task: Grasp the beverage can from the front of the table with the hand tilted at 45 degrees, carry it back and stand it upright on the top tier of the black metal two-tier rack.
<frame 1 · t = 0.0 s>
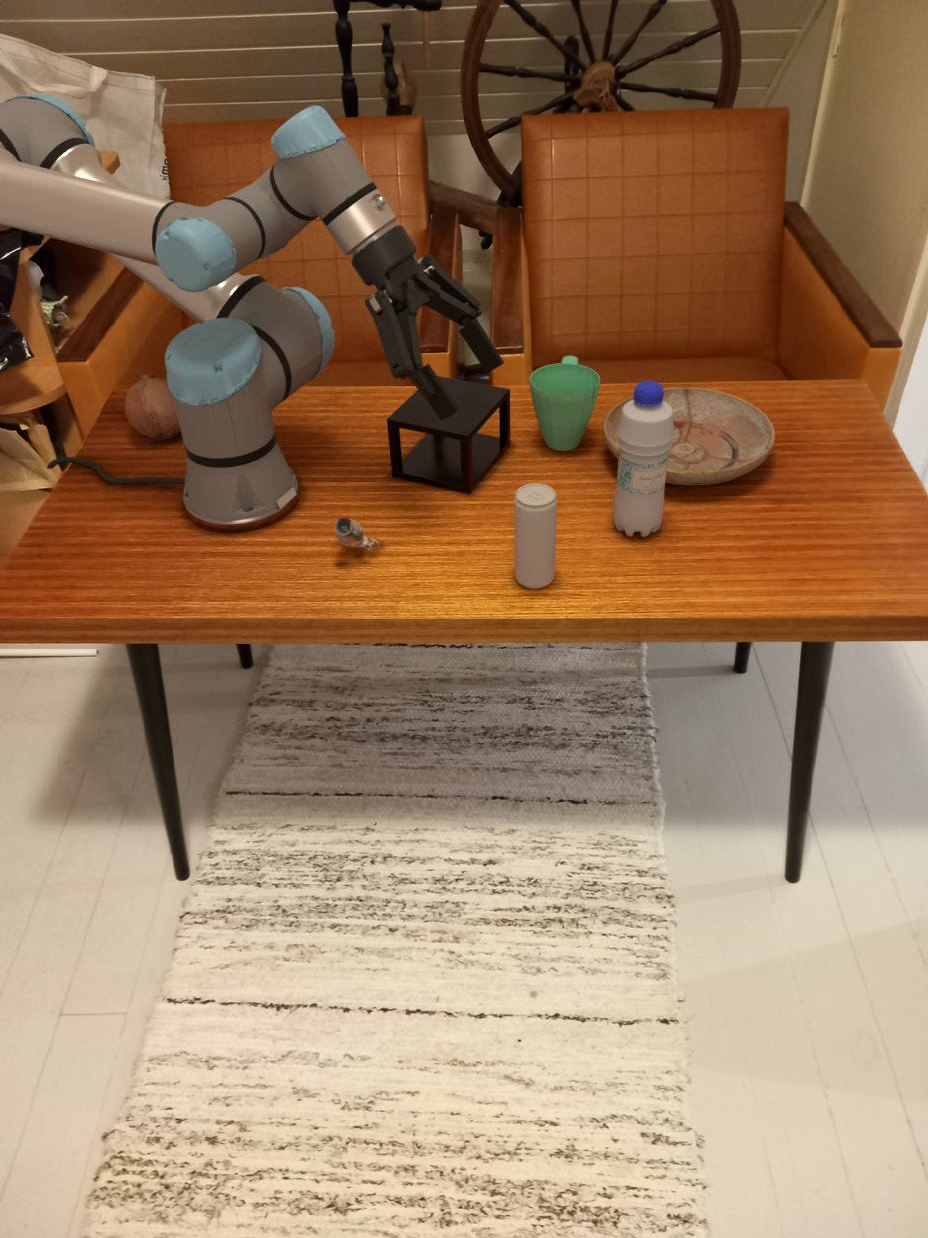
hand: (473, 390, 123), 15 cm above the table, tool tilted 35°, fingers open, 13 cm apart
mug: (564, 435, 145), on the table
vase: (352, 555, 124), on the table
onion: (164, 434, 149), on the table
bottle: (636, 528, 126), on the table
beverage can: (534, 580, 119), on the table
rack: (452, 460, 140), on the table
ceramic bowl: (684, 458, 139), on the table
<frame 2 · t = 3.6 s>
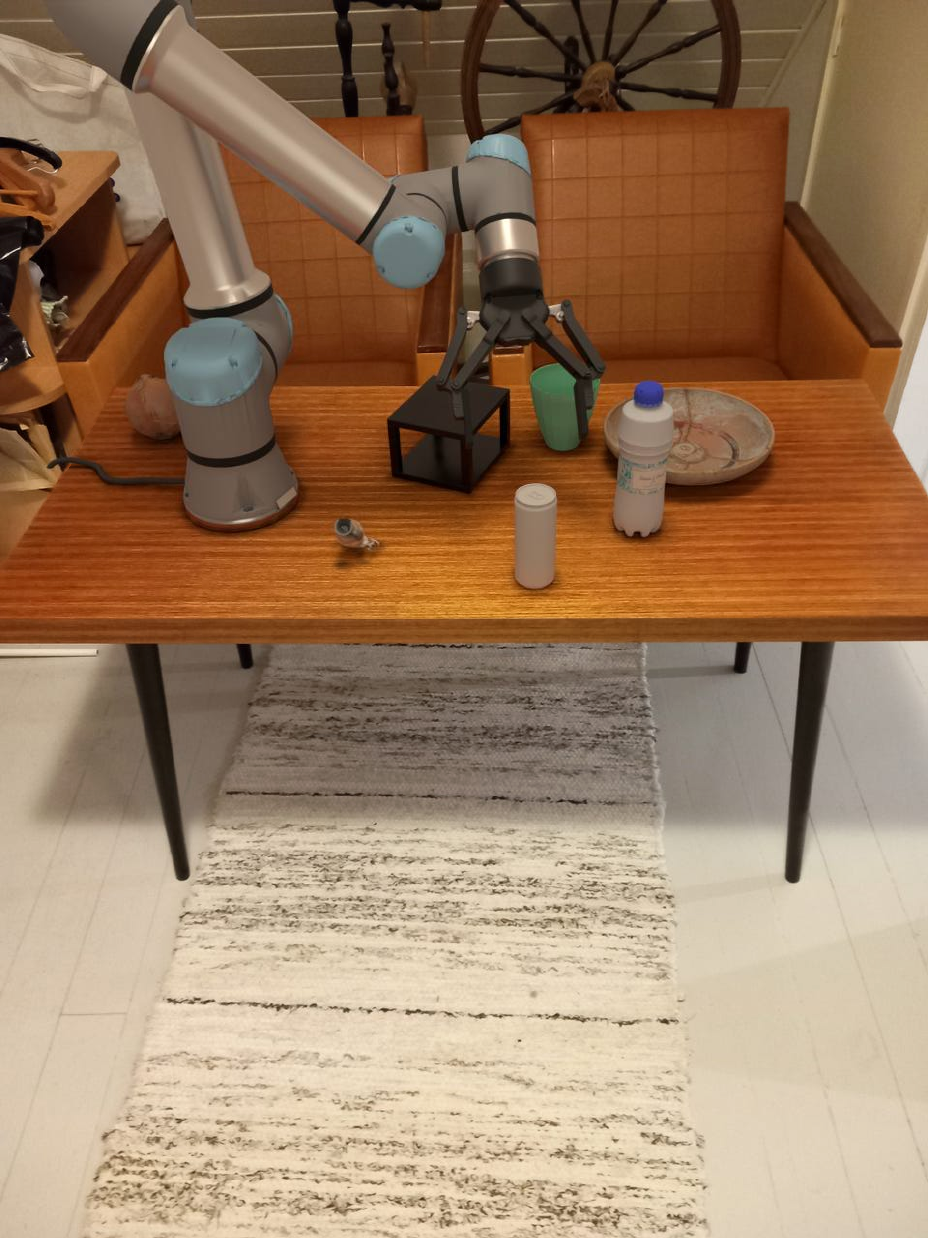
hand: (527, 441, 116), 14 cm above the table, tool tilted 45°, fingers open, 13 cm apart
nothing on the table moved.
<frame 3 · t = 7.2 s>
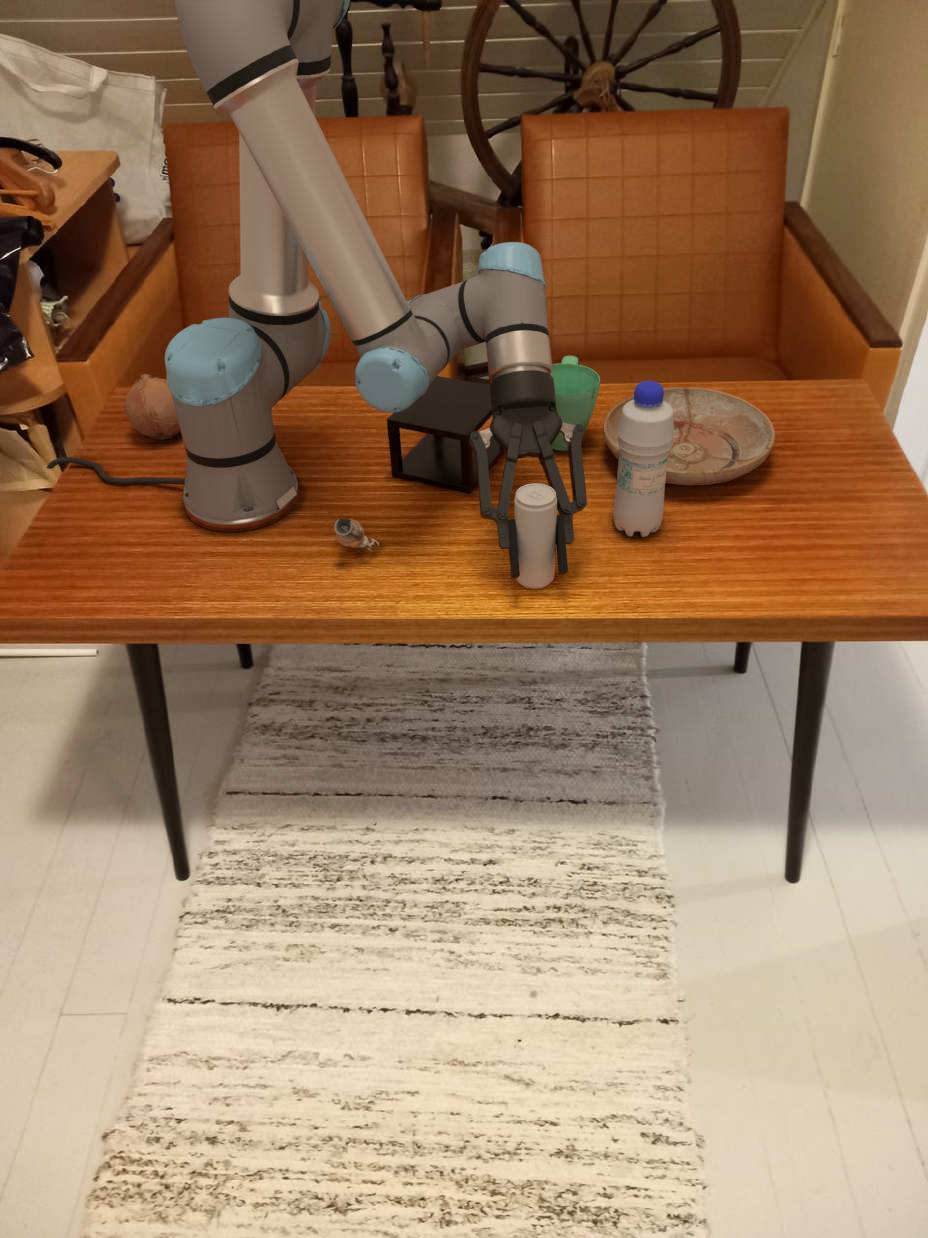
hand: (539, 574, 113), 3 cm above the table, tool tilted 45°, fingers closed on beverage can, 5 cm apart
beverage can: (534, 580, 119), on the table, touching gripper
everything else where it was.
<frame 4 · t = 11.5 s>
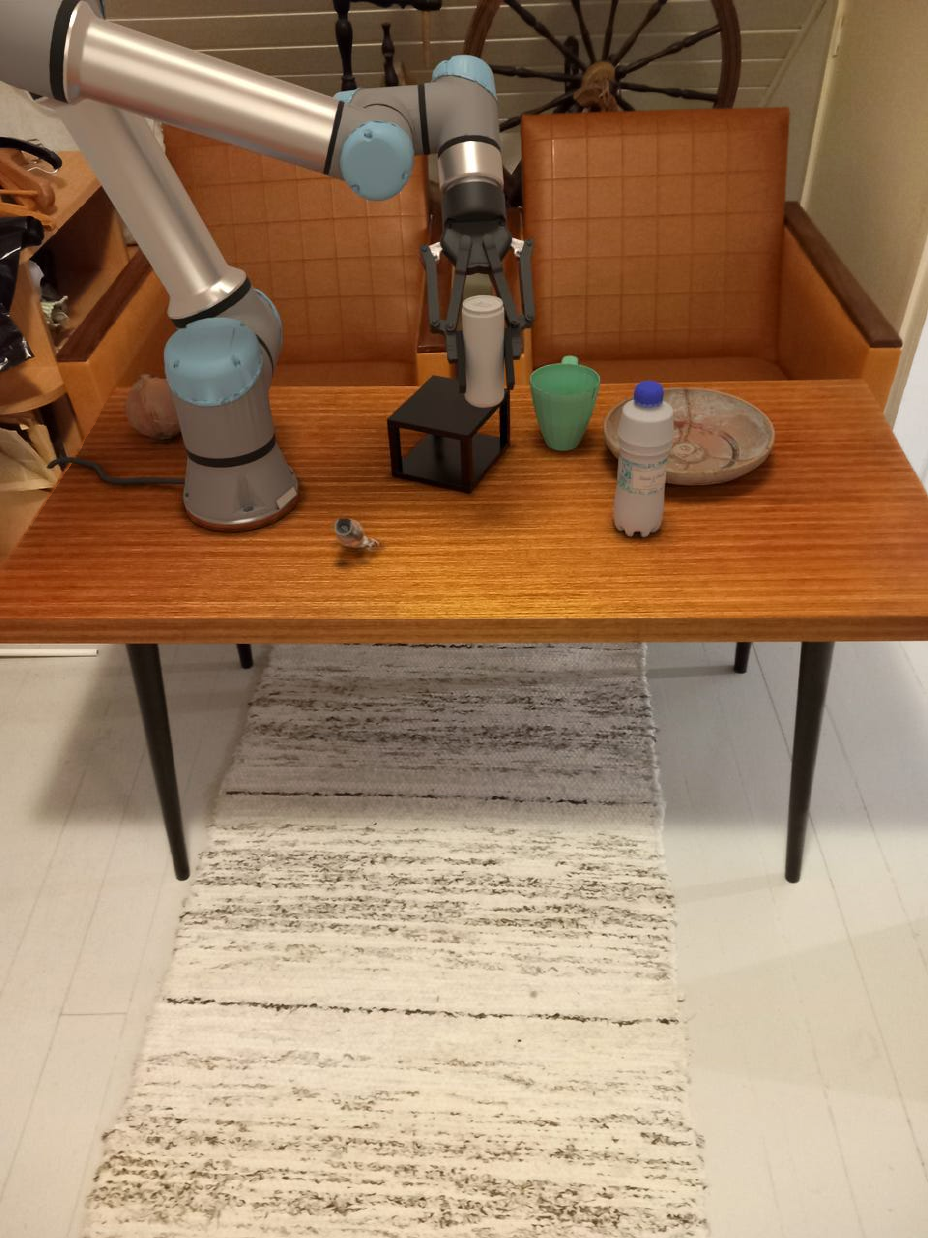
hand: (486, 387, 114), 20 cm above the table, tool tilted 45°, fingers closed on beverage can, 5 cm apart
beverage can: (484, 401, 119), point 16 cm above the table, touching gripper
everything else where it was.
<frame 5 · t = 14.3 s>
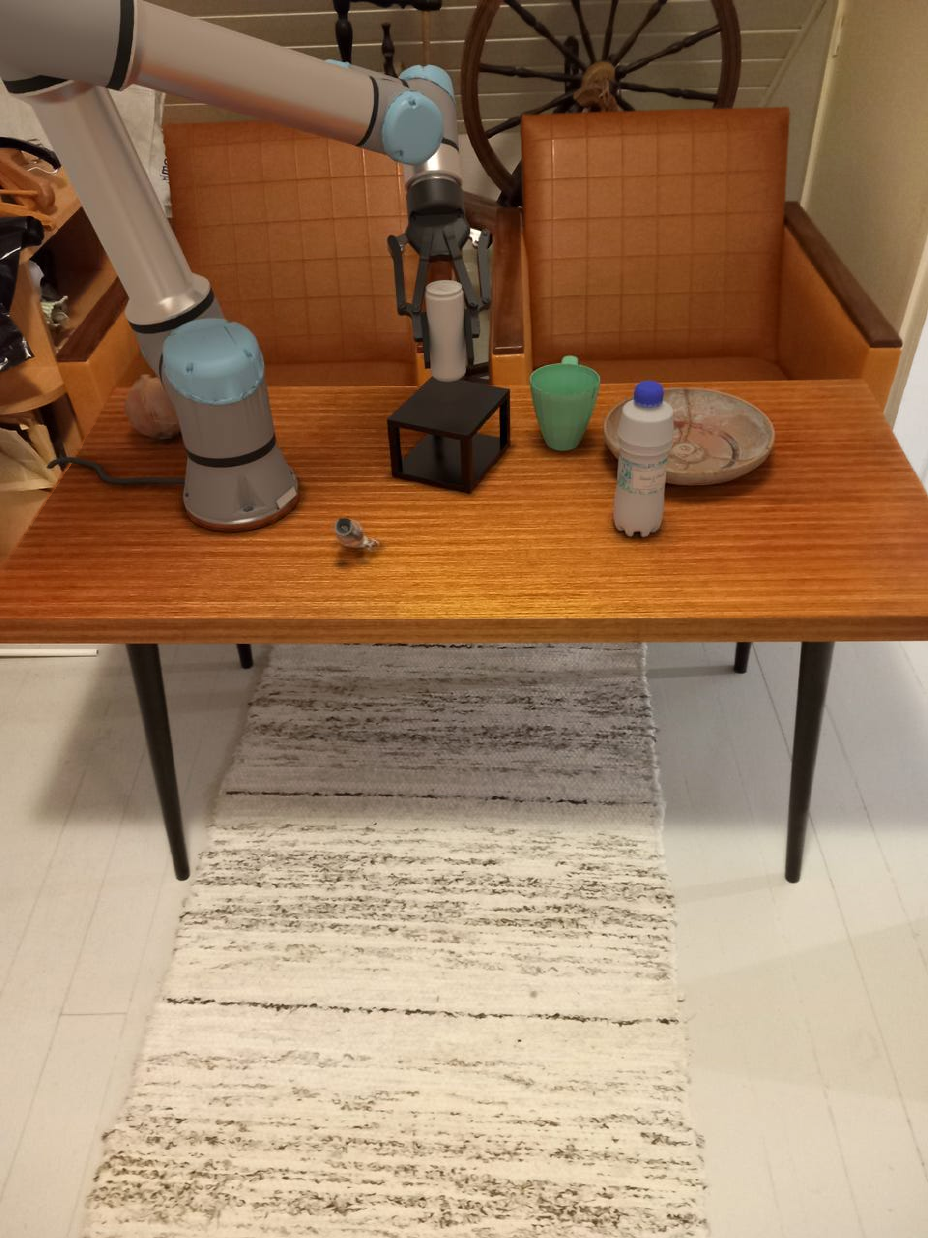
hand: (449, 363, 127), 17 cm above the table, tool tilted 45°, fingers closed on beverage can, 5 cm apart
beverage can: (448, 376, 132), point 13 cm above the table, touching gripper
everything else where it was.
when the fingers open (12 cm above the table, at t = 15.8 s): beverage can stays where it is, resting on rack.
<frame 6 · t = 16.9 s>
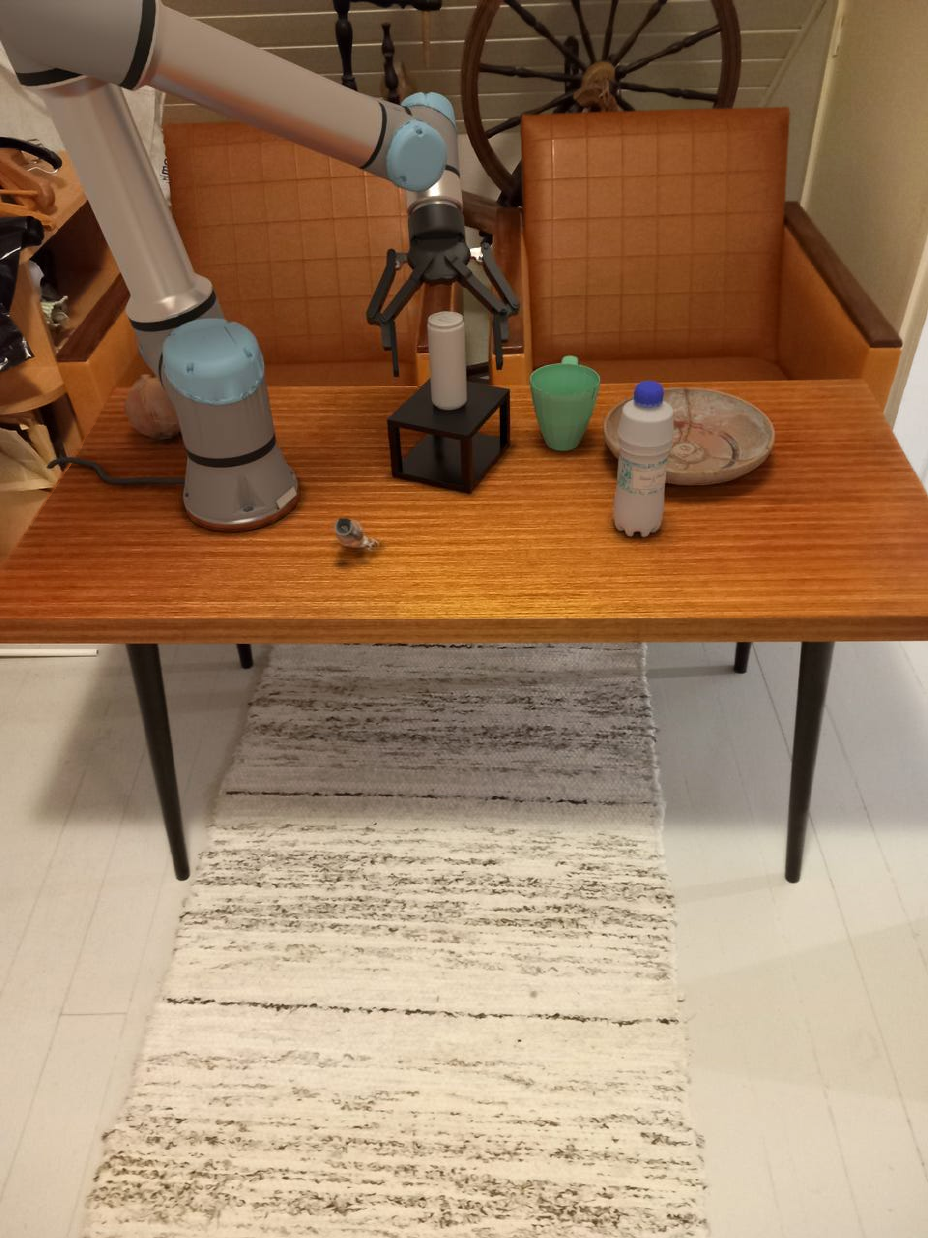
hand: (448, 370, 129), 15 cm above the table, tool tilted 45°, fingers open, 13 cm apart
beverage can: (449, 404, 135), point 9 cm above the table, touching rack
everything else where it was.
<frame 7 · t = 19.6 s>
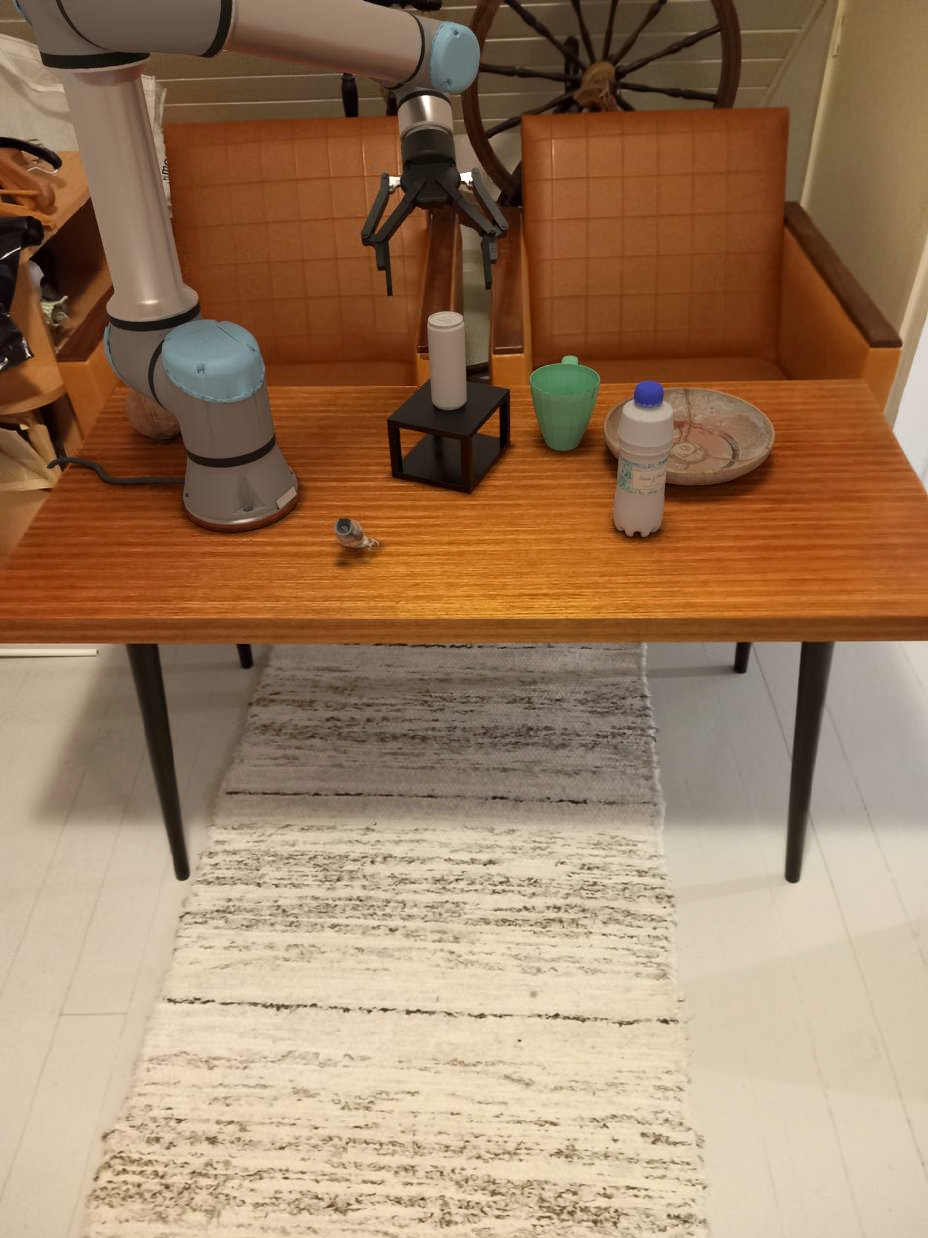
hand: (439, 288, 135), 21 cm above the table, tool tilted 45°, fingers open, 13 cm apart
nothing on the table moved.
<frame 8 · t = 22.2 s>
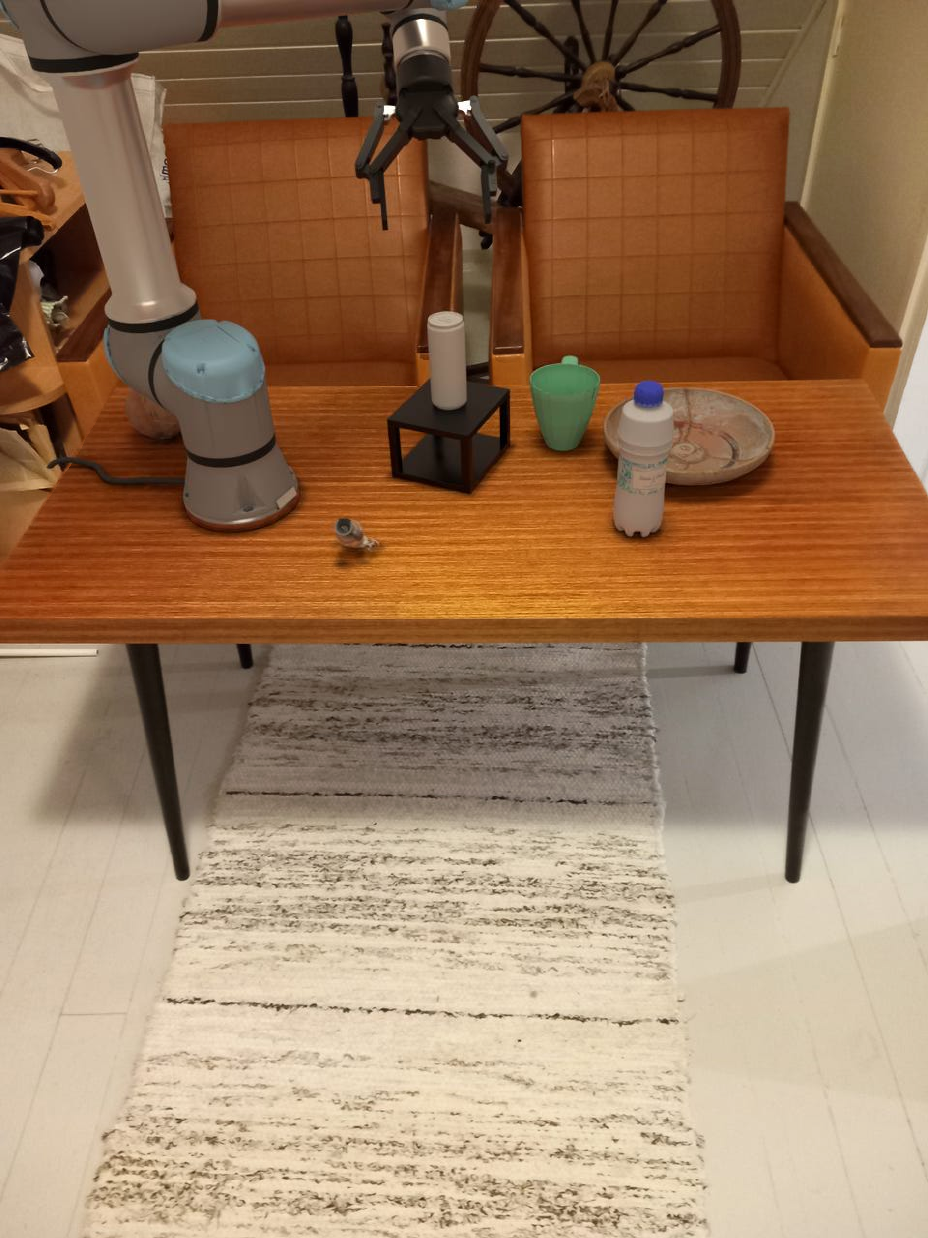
hand: (436, 222, 129), 30 cm above the table, tool tilted 45°, fingers open, 13 cm apart
nothing on the table moved.
at the end: beverage can inside the target area on the rack (0.1 cm from its centre), point 8.8 cm above the rack's base; beverage can tilted 0°; the gripper is holding nothing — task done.
